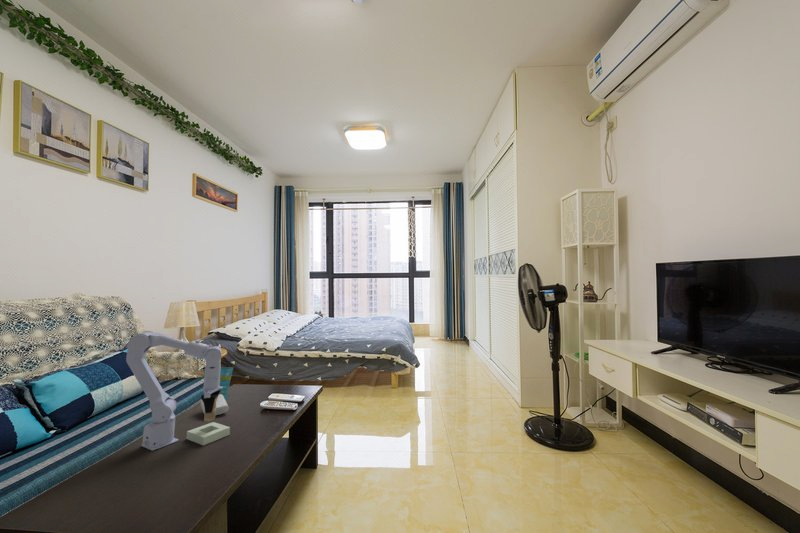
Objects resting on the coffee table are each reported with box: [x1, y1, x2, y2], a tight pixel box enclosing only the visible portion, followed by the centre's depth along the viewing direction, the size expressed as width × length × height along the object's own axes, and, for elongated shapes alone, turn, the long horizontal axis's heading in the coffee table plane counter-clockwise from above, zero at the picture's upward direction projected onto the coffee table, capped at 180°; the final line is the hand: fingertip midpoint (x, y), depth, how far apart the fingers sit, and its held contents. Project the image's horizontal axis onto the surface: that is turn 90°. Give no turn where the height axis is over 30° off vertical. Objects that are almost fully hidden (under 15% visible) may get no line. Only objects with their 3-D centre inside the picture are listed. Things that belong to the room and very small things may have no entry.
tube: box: [219, 366, 234, 402], centre depth 169 cm, size 7×5×19 cm, turn 123°
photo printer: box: [200, 394, 230, 417], centre depth 159 cm, size 10×4×12 cm
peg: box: [203, 397, 217, 422], centre depth 134 cm, size 4×4×9 cm
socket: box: [186, 421, 231, 446], centre depth 134 cm, size 11×11×3 cm
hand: (210, 410), depth 134 cm, fingers closed on peg, 4 cm apart
